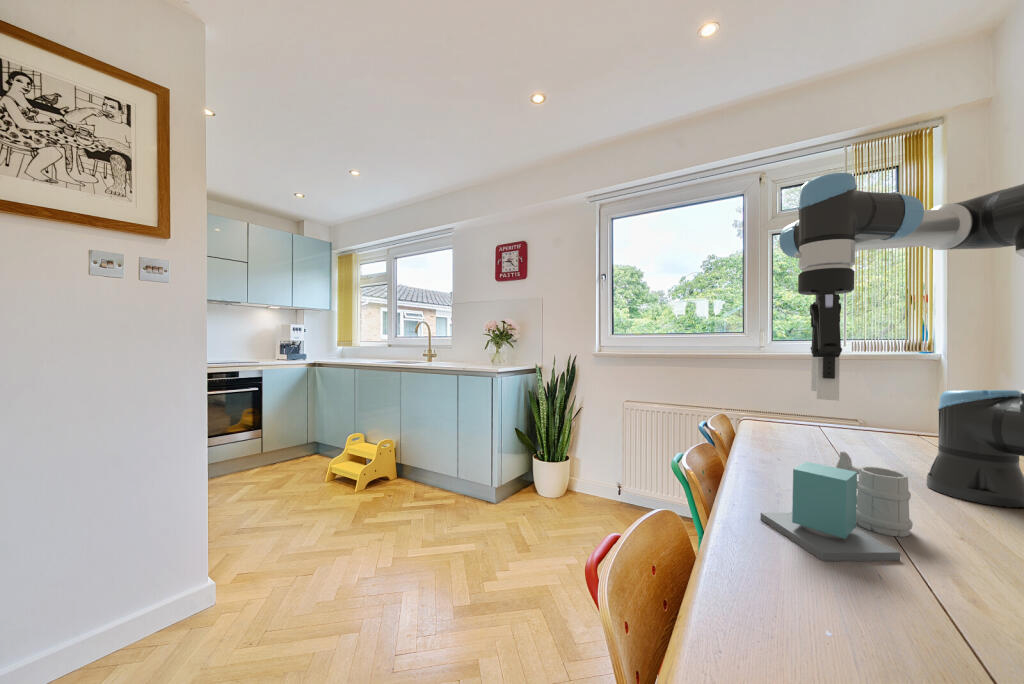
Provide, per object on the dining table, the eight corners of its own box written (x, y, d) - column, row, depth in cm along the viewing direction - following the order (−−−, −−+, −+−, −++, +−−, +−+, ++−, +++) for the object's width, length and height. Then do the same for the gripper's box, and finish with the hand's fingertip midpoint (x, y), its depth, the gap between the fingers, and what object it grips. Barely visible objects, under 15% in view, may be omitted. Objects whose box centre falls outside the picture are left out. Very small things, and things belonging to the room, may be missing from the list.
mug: (901, 542, 66) (902, 469, 66) (819, 513, 76) (820, 451, 76) (920, 532, 69) (921, 463, 69) (839, 506, 80) (840, 446, 80)
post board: (823, 519, 74) (824, 477, 74) (900, 560, 60) (901, 509, 60) (760, 519, 74) (761, 477, 74) (823, 560, 60) (824, 509, 60)
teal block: (792, 522, 67) (793, 468, 67) (805, 511, 72) (806, 461, 72) (845, 538, 62) (846, 480, 62) (855, 526, 66) (857, 472, 66)
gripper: (795, 281, 80) (794, 386, 80) (801, 259, 60) (799, 401, 60) (844, 278, 76) (842, 389, 76) (868, 253, 56) (865, 406, 56)
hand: (823, 395), depth 68 cm, fingers open, 13 cm apart
